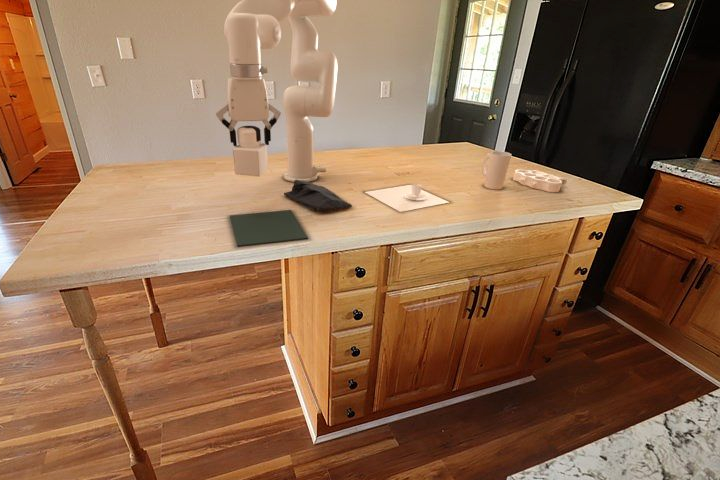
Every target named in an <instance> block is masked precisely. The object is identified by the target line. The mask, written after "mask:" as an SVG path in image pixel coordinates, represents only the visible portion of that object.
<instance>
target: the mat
mask: <svg viewBox="0 0 720 480" xmlns="http://www.w3.org/2000/svg"><path fill="white" fill-rule="evenodd" d="M229 218H230V222H231V227H232V230H233V234H234V235H233V236H234V238H235V242H236V246H237V248H239V247H247V246H258V245H264V244H274V243H285V242H293V241H301V240H308V239H309V237H308V236H307V234H306V232H305V230H304V229H303V227H302V226H301V224H300V223H299V221H298V219H297V218H296V216H295V214H294V213H293V211H292V210H291V209H288V210H287V209H286V210H275V211H274V210H273V211H264V212H253V213H243V214H242V213H241V214H231V215H229Z"/></svg>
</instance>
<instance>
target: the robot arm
mask: <svg viewBox="0 0 720 480" xmlns="http://www.w3.org/2000/svg"><path fill="white" fill-rule="evenodd" d="M337 3H338V0H240V1H239V2H237V4H235V6H234V7H233V8H232V9H231V10H230V11H229V13H228V14H227V16H226V18H225V21H224V24H223V25H224V26H223V33H224V38H225V40H226V42H227V45H228V55H229V67H230V77H228V78H227V86H226V87H227V89H226V91H227V93H226V94H227V104H225V105H224V106H223V107H222V108H220V109H219V110H218V111H216V113H215V116H216V118H217V119H218V120H219V121H220V123H221V124H222V125H223V126H224V127H225V128H226V129H228V131H229V141H230V143H231V144H232V146H233V147H236V146H237V145H238V144H237V143H238V141H237V130H236V129H235V127H236V125H237V123H238V122H262V123H263V125H264V128H263V136H264V138H263V139H264V144H266V145H267V146H269V145H270V142H271V141H272V135H271V134H272V133H271V130H272V128H273V127H274V125H275V124H276V123H277V122H278V120H279V119H280V116H281V115H282V112H281V111H280V110H278V109H277V108H276V107H274V106H273V105H271V104H270V103H269V99H268V91H267V84H266V81H265V77H264V78H263V75H264V74H268V67H267V66H266V67H265V66H263V65H262V54H261V50H272V49H275V48H276V47H277V46H278V45H279V44H280V42H281V39H282V28H281V24H280V23H281V22H282V21H285V20H288V22H289V25H290V28H291V32H292V33H291V34H292V37H291V39H292V40H291V54H290V66H289V67H290V68H289V70H290V76H291V78H292V79H293V80H294V81H297V82H301V83H316V84H317V83H318V84H319V83H320V86H316V85H315V86H313V85H301V84H299V85H291V86H288V87H287V88H285V90H284V92H283V94H282V95H283V97H282V103H283V109H284V114H285V121H286V157H287V159H286V161H287V171H286V172H284V174H283V179H284V180H286V181H288V182H291V183H294V181H295V180H300V181H306V182H310V183H311V182H314V181H316V180H317V179H318V173H326V172H327V167H326V166H320V165H318V166H316V165H314V135H315V134H314V133H315V132H314V126H313V124H312V122H311V120H310V119H309V118H310V117H312V118H313V117H315V118H328V117H330V116H331V115H332V114H333V112H334V109H335V101H336V92H337V91H336V90H337V80H338V68H339V67H338V65H339V64H338V58H337V56H336V54H334V52H332V51H330V50H318V48H319V47H318V46H319V45H318V44H319V34H318V31H317V28H316V27H315V25H314V24H313V22H312V21H311V19H310V18H311V17H312V18H313V17H315V18H316V17H317V18H318V17H321V18H323V17H326V18H327V17H330V16H332V15H334V13H335V11H336V9H337ZM309 17H310V18H309ZM270 112H272V113H273V116H272V117H271V118H270V119H269V117H270ZM226 113H228V116H229V117H230V121H228V120H227V119H226V118H225V116H224V115H225V114H226ZM268 119H269V120H268Z"/></svg>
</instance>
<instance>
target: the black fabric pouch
mask: <svg viewBox="0 0 720 480" xmlns="http://www.w3.org/2000/svg"><path fill="white" fill-rule="evenodd" d="M283 196H285V197H288V198H289V199H291V200H292V201H294V202H296V203H298V204H302V205H303V206H305V207H306V208H309V209H311V210H313V211H315V212H324V211H331V210H345V209H349V208H352V207H353V205H352V204H351V203H348V202H347V201H345V200H344V199H342V198H341V197H340V196H339V195H337V194H336V193H334V192H333V191H332V190H330V189H328V188H327V187H325V186H323V185H319V184H314V183H313V182H311V181H310V182H306V181H300V180H295V181H294V182H293V186H292V188H291V190H290V191H286V192H284V193H283Z"/></svg>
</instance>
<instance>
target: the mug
mask: <svg viewBox="0 0 720 480" xmlns="http://www.w3.org/2000/svg"><path fill="white" fill-rule="evenodd" d="M511 159H512V153H510V152H508V151H501V150H494V151H491V152H487V153H486V156H485V157H484V158H483V161H482V165H481V166H482V176H483V177H484V184H483V186H484V188H487V189H490V190H501V189H503V187H504V183H505V180H506V177H507V172H508V169H509V166H510V163H511ZM487 161H488V162H487ZM487 163H488V164H487ZM486 165H487V166H486ZM486 167H487V168H486Z"/></svg>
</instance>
